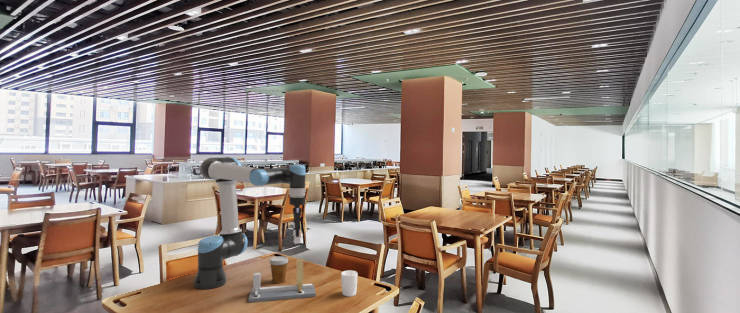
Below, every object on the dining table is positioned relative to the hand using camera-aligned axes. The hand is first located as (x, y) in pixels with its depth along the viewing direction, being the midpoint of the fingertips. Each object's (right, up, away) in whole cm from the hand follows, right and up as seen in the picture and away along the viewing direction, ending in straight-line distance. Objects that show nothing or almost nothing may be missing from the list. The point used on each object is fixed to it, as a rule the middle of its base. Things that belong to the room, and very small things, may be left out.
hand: (296, 239), depth 175 cm
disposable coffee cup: (-12, -25, +12) cm, 30 cm away
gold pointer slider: (+2, -23, -3) cm, 23 cm away
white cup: (+26, -25, -3) cm, 36 cm away
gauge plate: (-6, -25, -5) cm, 26 cm away
